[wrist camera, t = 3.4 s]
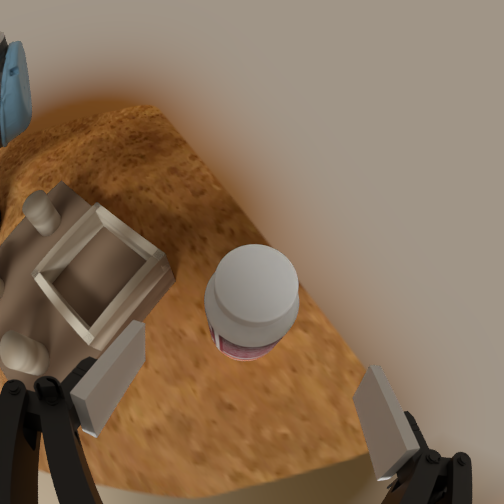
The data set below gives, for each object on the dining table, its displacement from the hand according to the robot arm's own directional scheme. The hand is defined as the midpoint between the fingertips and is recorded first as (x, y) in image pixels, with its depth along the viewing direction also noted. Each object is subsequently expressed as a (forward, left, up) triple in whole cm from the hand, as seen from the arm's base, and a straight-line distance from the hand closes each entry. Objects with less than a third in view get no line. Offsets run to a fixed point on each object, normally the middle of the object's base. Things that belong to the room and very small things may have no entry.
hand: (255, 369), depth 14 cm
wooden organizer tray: (-21, -6, -9) cm, 23 cm away
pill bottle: (-3, +4, -9) cm, 10 cm away
